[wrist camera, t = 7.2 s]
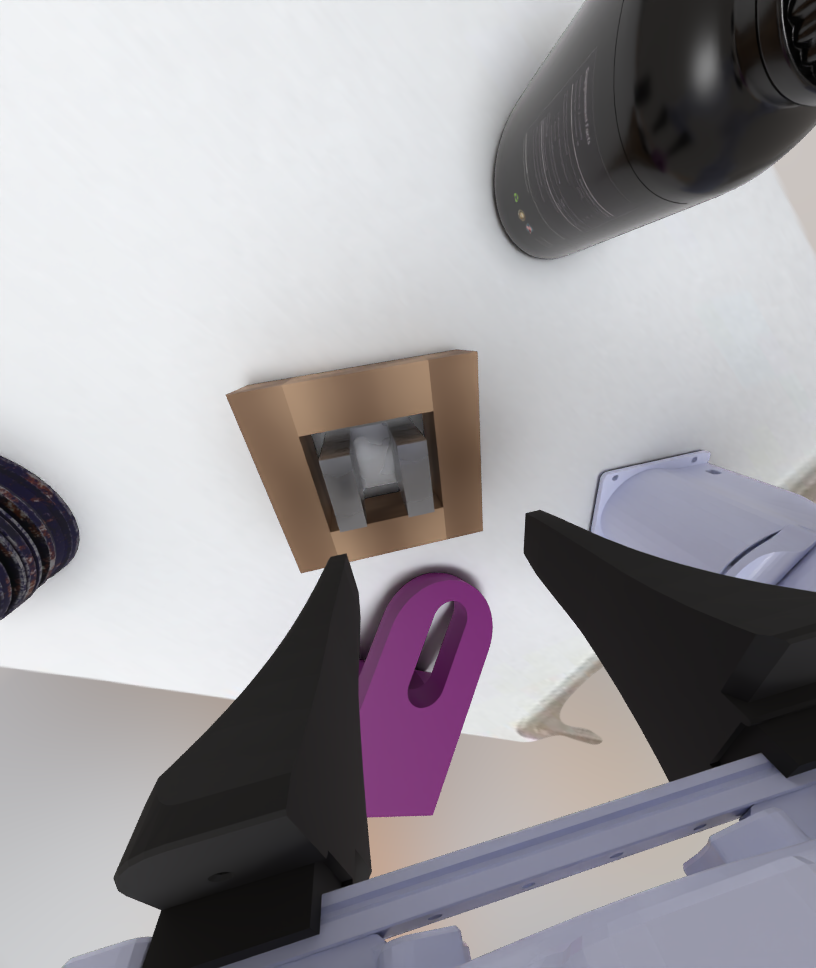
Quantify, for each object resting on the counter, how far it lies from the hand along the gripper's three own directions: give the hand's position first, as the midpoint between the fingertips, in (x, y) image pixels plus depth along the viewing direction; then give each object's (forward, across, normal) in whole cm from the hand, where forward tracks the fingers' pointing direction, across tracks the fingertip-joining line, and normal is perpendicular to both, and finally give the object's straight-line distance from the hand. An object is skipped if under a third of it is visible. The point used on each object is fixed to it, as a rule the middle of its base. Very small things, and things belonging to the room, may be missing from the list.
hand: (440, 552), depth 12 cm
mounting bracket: (+10, +3, +18) cm, 21 cm away
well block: (+9, +2, -1) cm, 10 cm away
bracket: (+9, +2, -1) cm, 10 cm away
